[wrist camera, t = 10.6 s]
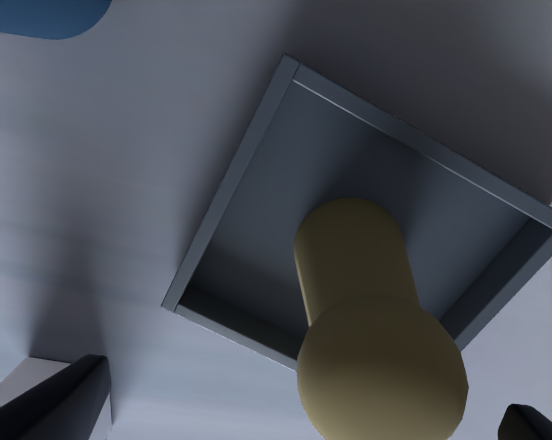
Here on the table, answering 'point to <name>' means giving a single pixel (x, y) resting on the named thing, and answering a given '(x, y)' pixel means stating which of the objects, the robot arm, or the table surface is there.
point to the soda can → (50, 17)
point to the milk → (38, 371)
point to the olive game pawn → (370, 333)
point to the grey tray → (351, 184)
